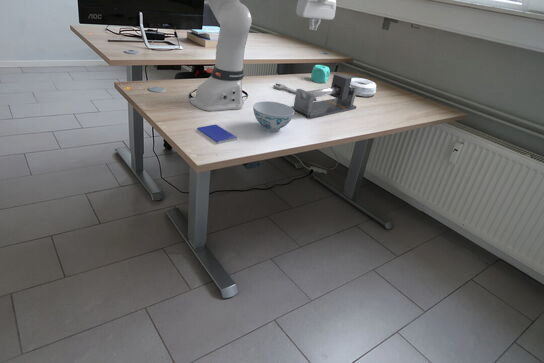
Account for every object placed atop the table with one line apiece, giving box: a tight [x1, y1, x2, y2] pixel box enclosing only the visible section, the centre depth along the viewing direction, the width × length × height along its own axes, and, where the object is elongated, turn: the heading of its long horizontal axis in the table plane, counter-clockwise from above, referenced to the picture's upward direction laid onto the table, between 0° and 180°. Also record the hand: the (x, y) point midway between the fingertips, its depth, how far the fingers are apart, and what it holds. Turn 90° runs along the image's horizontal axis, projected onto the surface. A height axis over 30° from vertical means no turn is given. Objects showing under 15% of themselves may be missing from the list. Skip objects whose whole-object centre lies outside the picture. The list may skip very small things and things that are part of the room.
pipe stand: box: [290, 85, 357, 120], centre depth 166 cm, size 32×12×10 cm, turn 133°
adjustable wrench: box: [273, 82, 318, 102], centre depth 182 cm, size 25×6×2 cm, turn 46°
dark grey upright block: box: [329, 73, 353, 100], centre depth 169 cm, size 4×7×10 cm, turn 43°
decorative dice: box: [310, 64, 331, 84], centre depth 208 cm, size 8×8×8 cm
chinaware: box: [252, 100, 295, 133], centre depth 138 cm, size 15×15×8 cm
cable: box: [350, 77, 377, 97], centre depth 199 cm, size 18×18×6 cm
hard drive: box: [196, 124, 239, 145], centre depth 128 cm, size 2×8×12 cm
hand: (312, 30), depth 155 cm, fingers closed
